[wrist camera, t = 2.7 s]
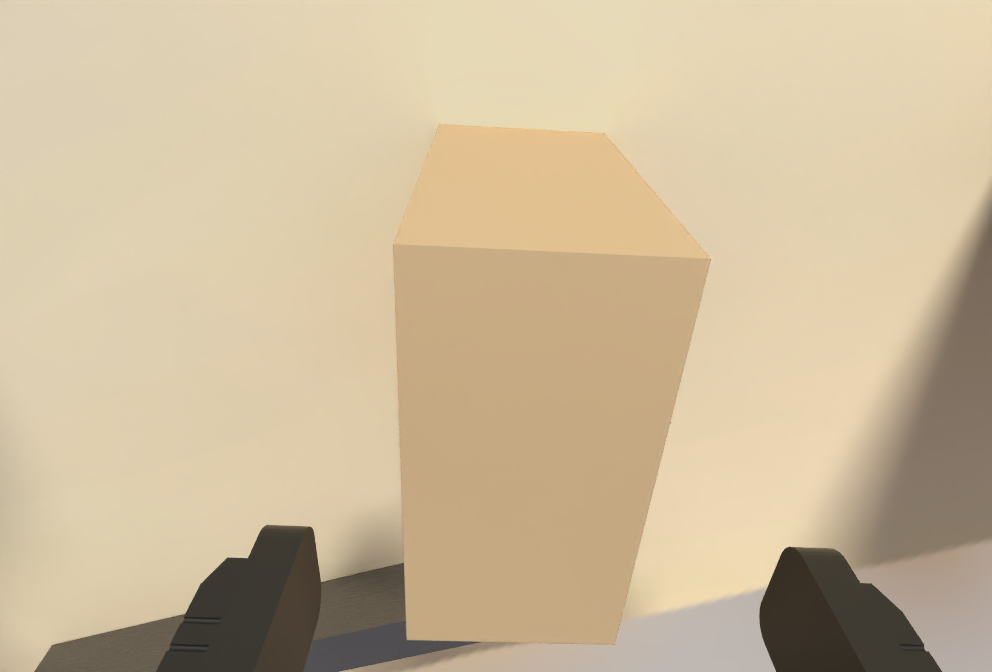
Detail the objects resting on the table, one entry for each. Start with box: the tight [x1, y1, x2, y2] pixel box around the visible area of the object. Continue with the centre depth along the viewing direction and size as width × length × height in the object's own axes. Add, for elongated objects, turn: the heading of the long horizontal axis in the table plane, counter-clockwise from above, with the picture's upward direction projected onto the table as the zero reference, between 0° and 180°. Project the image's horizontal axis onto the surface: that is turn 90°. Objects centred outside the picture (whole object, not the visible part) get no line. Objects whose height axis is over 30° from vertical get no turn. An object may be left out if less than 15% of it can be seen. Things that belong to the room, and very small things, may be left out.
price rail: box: [35, 563, 478, 672], centre depth 28 cm, size 28×3×3 cm, turn 108°
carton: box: [393, 124, 711, 645], centre depth 16 cm, size 10×5×10 cm, turn 177°
